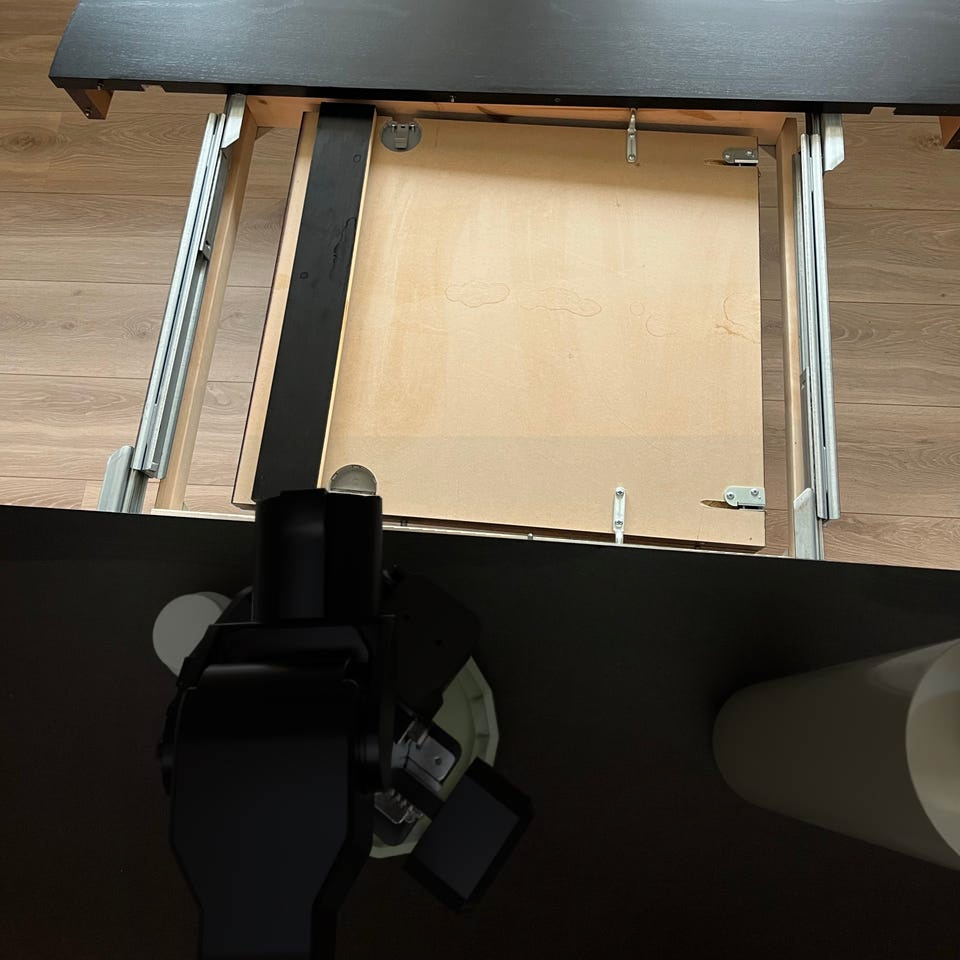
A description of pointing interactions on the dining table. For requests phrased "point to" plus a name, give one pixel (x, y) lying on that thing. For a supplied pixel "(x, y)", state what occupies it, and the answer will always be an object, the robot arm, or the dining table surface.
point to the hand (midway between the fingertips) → (377, 738)
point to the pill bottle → (185, 625)
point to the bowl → (472, 726)
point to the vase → (855, 749)
